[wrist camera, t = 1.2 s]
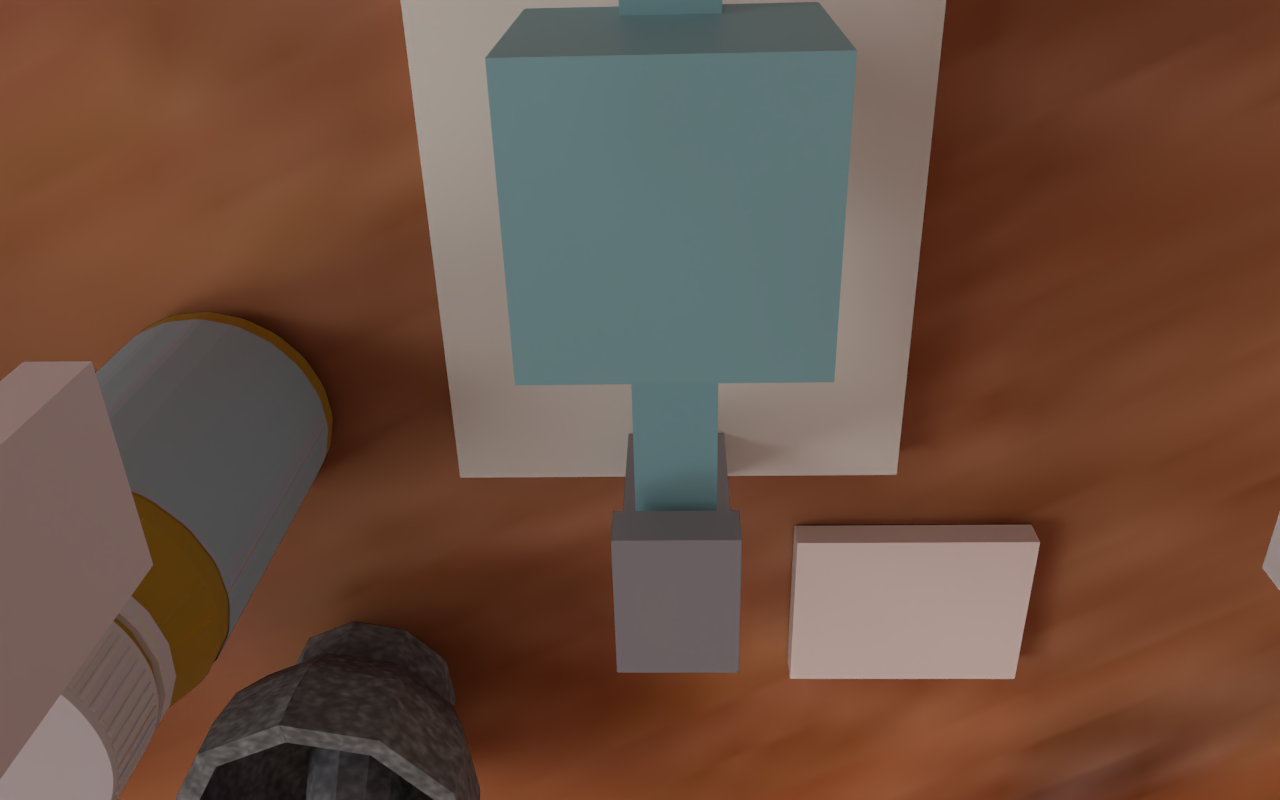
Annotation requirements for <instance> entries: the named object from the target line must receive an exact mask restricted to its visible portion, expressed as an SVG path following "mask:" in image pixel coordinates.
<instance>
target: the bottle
mask: <svg viewBox="0 0 1280 800" xmlns="http://www.w3.org/2000/svg"><path fill="white" fill-rule="evenodd" d="M96 377H97V380H98V383H99V387H100V390H101V393H102V396H103V400H104V403H105V406H106V410H107V413H108V416H109V420H110V423H111V426H112V430H113V433H114V436H115V440H116V443H117V446H118V449H119V453H120V456H121V459H122V463H123V466H124V469H125V473H126V476H127V479H128V483H129V486H130V489H131V493H132V496H133V499H134V502H135V506H136V509H137V512H138V516H139V519H140V522H141V526H142V529H143V532H144V536H145V539H146V542H147V546H148V549H149V552H150V555H151V559H152V562H153V566H152V567H151V569H150V570H149V571H148V573H147V574H146V576H145V577H144V579H143V580H142V581H141V583H140V584H139V586H138V587H137V588H136V590H135V591H134V593H133V594H132V595H131V597H130V598H129V600H128V601H127V602H126V604H125V605H124V607H123V608H122V609H121V611H120V612H119V614H118V615H117V616H116V618H115V619H114V621H113V622H112V623H111V625H110V626H109V628H108V629H107V630H106V632H105V633H104V635H103V636H102V637H101V639H100V640H99V642H98V643H97V644H96V646H95V647H94V649H93V650H92V651H91V653H90V654H89V656H88V657H87V658H86V660H85V661H84V663H83V664H82V665H81V667H80V668H79V670H78V671H77V672H76V674H75V675H74V677H73V678H72V679H71V681H70V682H69V684H68V685H67V686H66V688H65V689H64V691H63V692H62V694H61V695H60V696H59V698H58V699H57V701H56V702H55V703H54V705H53V706H52V708H51V709H50V710H49V712H48V713H47V715H46V716H45V717H44V719H43V720H42V722H41V723H40V724H39V726H38V727H37V729H36V730H35V731H34V733H33V734H32V736H31V737H30V738H29V740H28V741H27V743H26V744H25V745H24V747H23V748H22V750H21V751H20V752H19V754H18V755H17V757H16V758H15V759H14V761H13V762H12V764H11V765H10V766H9V768H8V769H7V771H6V772H5V773H4V775H3V776H2V778H1V779H0V800H117V799H118V797H119V796H120V794H121V792H122V790H123V789H124V787H125V785H126V783H127V781H128V780H129V778H130V776H131V774H132V773H133V771H134V769H135V767H136V766H137V764H138V762H139V760H140V759H141V757H142V755H143V753H144V752H145V750H146V748H147V746H148V745H149V743H150V741H151V737H152V735H153V733H154V731H155V729H156V727H157V726H158V725H159V724H160V722H161V720H162V718H163V717H164V715H165V713H166V711H167V710H168V708H169V707H170V706H172V705H173V704H174V703H176V702H177V701H178V700H179V699H181V698H182V697H183V696H185V695H186V694H187V693H188V692H189V691H191V690H192V689H193V688H194V687H195V686H197V685H198V684H199V683H200V682H201V681H202V680H203V679H204V678H205V676H206V675H207V674H208V672H209V670H210V668H211V666H212V664H213V663H214V662H215V661H216V659H217V658H218V656H219V654H220V652H221V650H222V649H223V647H224V645H225V643H226V641H227V639H228V638H229V636H230V634H231V632H232V630H233V628H234V627H235V625H236V623H237V621H238V619H239V617H240V616H241V614H242V612H243V610H244V608H245V606H246V605H247V603H248V601H249V599H250V597H251V595H252V594H253V592H254V590H255V588H256V586H257V584H258V583H259V581H260V579H261V577H262V575H263V573H264V572H265V570H266V568H267V566H268V564H269V562H270V561H271V559H272V557H273V555H274V553H275V551H276V550H277V548H278V546H279V544H280V542H281V540H282V539H283V537H284V535H285V533H286V531H287V529H288V528H289V526H290V524H291V522H292V520H293V518H294V516H295V515H296V513H297V511H298V509H299V507H300V505H301V504H302V502H303V500H304V498H305V496H306V494H307V493H308V491H309V489H310V487H311V485H312V483H313V482H314V480H315V478H316V476H317V474H318V472H319V470H320V468H321V466H322V464H323V462H324V460H325V457H326V455H327V453H328V451H329V448H330V445H331V438H332V424H333V419H332V412H331V408H330V405H329V401H328V398H327V395H326V391H325V389H324V387H323V385H322V383H321V381H320V380H319V378H318V377H317V375H316V374H315V372H314V371H313V369H312V368H311V366H310V365H309V363H308V362H307V361H306V360H305V359H304V357H303V356H302V355H301V354H300V353H298V352H297V351H296V350H295V349H294V348H292V347H291V346H290V345H289V344H288V343H287V342H285V341H284V340H283V339H282V338H281V337H279V336H278V335H276V334H275V333H273V332H271V331H269V330H267V329H265V328H263V327H261V326H258V325H256V324H254V323H252V322H250V321H248V320H245V319H242V318H239V317H234V316H229V315H224V314H218V313H213V312H197V313H187V314H177V315H174V316H170V317H167V318H165V319H163V320H161V321H159V322H156V323H154V324H152V325H150V326H148V327H146V328H145V329H144V330H142V331H141V332H140V333H139V334H138V335H136V336H135V337H134V338H132V339H131V340H130V341H129V342H128V343H127V344H126V345H125V346H124V347H123V348H122V349H120V350H119V351H118V352H117V353H116V354H115V355H114V356H113V357H112V358H111V359H110V360H109V361H108V362H107V363H106V364H105V365H104V366H103V367H102V368H101V369H100V370H99V371H97V372H96Z"/></svg>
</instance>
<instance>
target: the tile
mask: <svg viewBox="0 0 1280 800" xmlns="http://www.w3.org/2000/svg"><path fill="white" fill-rule="evenodd" d="M1039 546H1040V541H1039V539H1038V537H1037V535H1036V533H1035V531H1034V529H1033V527H1032V525H851V526H794V544H793V563H792V582H791V601H790V620H789V639H788V658H787V660H788V668H789V675H790V679H1015V674H1016V669H1017V664H1018V658H1019V653H1020V648H1021V642H1022V637H1023V631H1024V626H1025V621H1026V615H1027V610H1028V605H1029V599H1030V594H1031V589H1032V583H1033V578H1034V573H1035V567H1036V562H1037V557H1038V551H1039Z"/></svg>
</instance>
